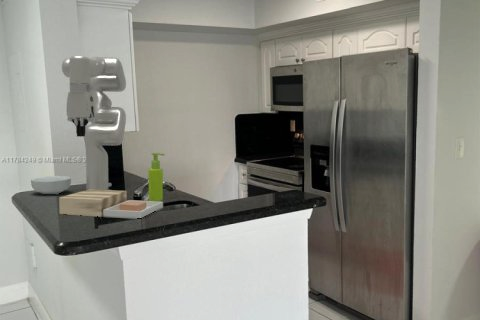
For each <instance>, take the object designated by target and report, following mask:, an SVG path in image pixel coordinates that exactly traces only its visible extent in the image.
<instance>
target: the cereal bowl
mask: <svg viewBox="0 0 480 320" xmlns="http://www.w3.org/2000/svg"><path fill="white" fill-rule="evenodd" d="M30 183H31V188H32V189H33V190H34V191H35V192H37V193H40V194H41V195H43V194H56V195H60V194H59V193H61V192H62V193H63V192H64V191H66V190H68V189H69V188H70V187H71V184H72V179H71V177H70V176H65V175H63V176H61V175H60V176H59V175H53V176H51V175H50V176H41V177H33V178H32V179H31V180H30ZM62 193H61V194H62Z"/></svg>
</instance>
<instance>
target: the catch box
mask: <svg viewBox="0 0 480 320" xmlns="http://www.w3.org/2000/svg"><path fill="white" fill-rule="evenodd" d="M128 201H136V202H146V209H144V210H142V211H124V210H120V204H122V203H120V204H117V205H115V206H112V207H110V208H107V209H104V210H103V216H102V217H103V218H112V219H113V218H114V219H115V218H117V219H133V220H134V219H135V220H138V219H137V218H142V217H144V216H146V215H148V214H150V213H152V212H154V211H156V212H158V211H160V210H162V209H164V202H163V201H149V200H135V199H134V200H133V199H130V200H129V199H128V200H127V201H125V202H128ZM125 202H123V203H125ZM154 213H155V212H154ZM152 214H153V213H152ZM150 215H151V214H150ZM148 216H149V215H148ZM146 217H147V216H146ZM144 218H145V217H144ZM142 219H143V218H142Z"/></svg>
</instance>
